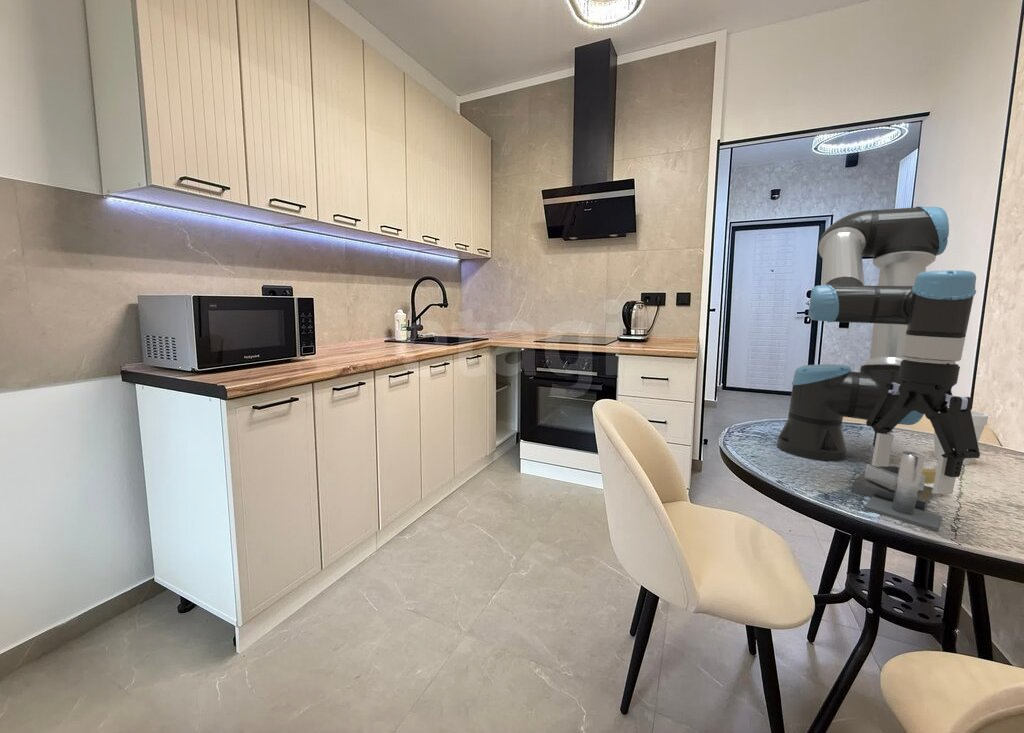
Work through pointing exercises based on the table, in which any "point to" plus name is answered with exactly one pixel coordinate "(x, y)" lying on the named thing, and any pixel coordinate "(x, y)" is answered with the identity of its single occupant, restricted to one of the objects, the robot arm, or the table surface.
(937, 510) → the table surface
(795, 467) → the table surface
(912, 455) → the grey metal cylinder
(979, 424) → the grey rounded piece
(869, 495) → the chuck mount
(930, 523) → the pad
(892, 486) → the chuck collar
